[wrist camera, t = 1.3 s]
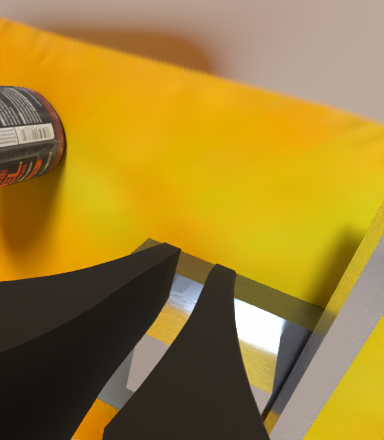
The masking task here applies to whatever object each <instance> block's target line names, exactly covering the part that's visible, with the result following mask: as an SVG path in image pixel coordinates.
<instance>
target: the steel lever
mask: <svg viewBox="0 0 384 440" xmlns="http://www.w3.org/2000/svg"><path fill="white" fill-rule="evenodd" d="M383 314H384V201H383V202H382V204H381V206H380V208H379V210H378V212H377V213H376V215H375V217H374V219H373V221H372V223H371V225H370V226H369V228H368V230H367V232H366V234H365V236H364V238H363V239H362V241H361V243H360V245H359V247H358V249H357V251H356V252H355V254H354V256H353V258H352V260H351V262H350V264H349V265H348V267H347V269H346V271H345V273H344V275H343V277H342V278H341V280H340V282H339V284H338V286H337V288H336V290H335V291H334V293H333V295H332V297H331V299H330V301H329V303H328V304H327V306H326V308H325V310H324V312H323V314H322V316H321V317H320V319H319V321H318V323H317V325H316V327H315V329H314V330H313V332H312V334H311V336H310V338H309V340H308V342H307V343H306V345H305V347H304V349H303V351H302V353H301V355H300V356H299V358H298V360H297V362H296V364H295V366H294V368H293V369H292V371H291V373H290V375H289V377H288V379H287V381H286V382H285V384H284V386H283V388H282V390H281V392H280V394H279V395H278V397H277V399H276V401H275V403H274V405H273V407H272V408H271V410H267V409H265V408H264V410H263V412H262V414H261V417H262V420H263V423H264V425H265V428H266V430H267V432H268V435H269V437H270V440H302V439H303V437H304V436H305V434H306V433H307V431H308V430H309V428H310V427H311V425H312V423H313V422H314V420H315V419H316V417H317V416H318V414H319V413H320V411H321V410H322V408H323V407H324V405H325V403H326V402H327V400H328V399H329V397H330V396H331V394H332V393H333V391H334V390H335V388H336V386H337V385H338V383H339V382H340V380H341V379H342V377H343V376H344V374H345V373H346V371H347V370H348V368H349V366H350V365H351V363H352V362H353V360H354V359H355V357H356V356H357V354H358V353H359V351H360V349H361V348H362V346H363V345H364V343H365V342H366V340H367V339H368V337H369V336H370V334H371V333H372V331H373V329H374V328H375V326H376V325H377V323H378V322H379V320H380V319H381V317H382V316H383Z"/></svg>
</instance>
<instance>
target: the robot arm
mask: <svg viewBox="0 0 384 440" xmlns="http://www.w3.org/2000/svg"><path fill="white" fill-rule="evenodd" d="M180 252H181V249H180V248H177V247H175V246H172V245H170V244H167V243H161V244H158V245H156V246H153V247H150V248H147V249H145V250H142V251H139V252H136V253H133V254H131V255H128V256H125V257H122V258H119V259H116V260H113V261H109V262H106V263H102V264H99V265H95V266H92V267H89V268H85V269H80V270H76V271H72V272H67V273H61V274H56V275H51V276H44V277H36V278H29V279H21V280H13V281H2V282H0V440H71V438H72V436H73V435H74V433H75V432H76V430H77V428H78V427H79V425H80V424H81V422H82V420H83V419H84V417H85V416H86V414H87V412H88V411H89V409H90V408H91V406H92V405H93V403H94V402H95V400H96V398H97V397H98V395H99V394H100V392H101V391H102V389H103V388H104V386H105V385H106V383H107V382H108V381H109V379H110V378H111V377H112V375H113V374H114V373H115V371H116V370H117V369H118V367H119V366H120V365H121V364H122V362H123V361H124V360H125V359H126V357H127V356H128V355H129V354H130V352H131V351H132V350H133V349H134V347H135V346H136V345H137V344H138V342H139V341H140V340H141V338H142V337H143V336H144V335H145V333H146V332H147V331H148V330H149V328H150V327H151V326H152V324H153V323H154V322H155V320H156V319H157V317H158V315H159V314H160V312H161V310H162V309H163V307H164V305H165V304H166V302H167V300H168V298H169V296H170V292H171V288H172V284H173V280H174V276H175V272H176V268H177V264H178V260H179V256H180ZM236 277H237V274H236V272H235V271H234V270H232V269H229V268H227V267H224V266H222V265H219V264H216V265H215V266H214V267H213V268H212V269H211V271H210V272H209V274H208V277H207V279H206V281H205V283H204V286H203V288H202V290H201V293H200V295H199V297H198V300H197V302H196V304H195V307H194V309H193V311H192V313H191V315H190V317H189V318H188V320H187V321H186V323H185V324H184V326H183V327H182V329H181V331H180V332H179V334H178V335H177V337H176V338H175V339H174V341H173V342H172V344H171V345H170V346H169V348H168V349H167V351H166V352H165V354H164V355H163V356H162V358H161V359H160V360H159V362H158V363H157V364H156V366H155V367H154V368H153V370H152V371H151V372H150V374H149V375H148V376H147V378H146V379H145V380H144V382H143V383H142V384H141V385H140V387H139V388H138V389H137V390H136V391H135V393H134V394H133V395H132V396H131V397H130V399H129V400H128V401H127V402H126V403H125V405H124V406H123V407H122V408H121V409H120V411H119V412H118V413H117V414H116V415H115V417H114V418H113V419H112V420H111V421H110V422H109V423H108V425H107V426H106V427H105V428H104V433H103V439H102V440H270V437H269V435H268V432H267V430H266V428H265V425H264V423H263V420H262V417H261V414H260V412H259V409H258V406H257V403H256V401H255V398H254V395H253V392H252V390H251V387H250V383H249V380H248V377H247V373H246V370H245V366H244V362H243V358H242V354H241V349H240V344H239V339H238V333H237V327H236V318H235V305H234V287H235V280H236Z"/></svg>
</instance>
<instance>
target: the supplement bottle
mask: <svg viewBox="0 0 384 440" xmlns="http://www.w3.org/2000/svg"><path fill="white" fill-rule="evenodd" d="M63 150H64V135H63V128H62V124H61V122H60V119H59V117H58V114H57V113H56V111H55V109H54V108H53V107H52V105H51V104H50V103H49V102H48V101H47V100H46V99H45V98H44V97H43V96H42V95H40V94H39V93H38V92H36V91H34V90H32V89H28V88H24V87H15V86H0V187H4V186H8V185H12V184H15V183H18V182H21V181H26V180H28V179H32V178H35V177H39V176H41V175H43V174H46V173H48V172H50V171H52V170H53V169H54V168H55V167H56V166H57V164H58V163H59V161H60V159H61V157H62V154H63Z"/></svg>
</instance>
